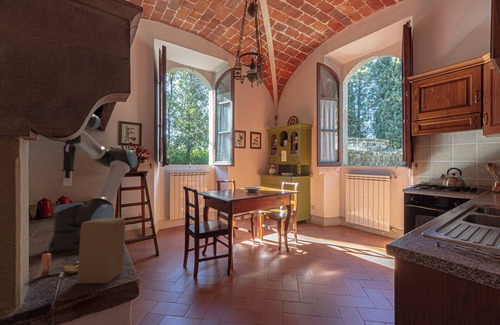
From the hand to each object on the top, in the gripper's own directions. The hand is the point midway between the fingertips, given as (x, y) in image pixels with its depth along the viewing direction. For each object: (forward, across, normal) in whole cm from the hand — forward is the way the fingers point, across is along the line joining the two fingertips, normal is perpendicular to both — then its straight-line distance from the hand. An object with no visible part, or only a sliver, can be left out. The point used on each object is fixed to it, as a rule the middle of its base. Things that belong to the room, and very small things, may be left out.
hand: (67, 185), depth 102 cm
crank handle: (+31, +23, +5) cm, 39 cm away
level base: (+32, +23, +8) cm, 40 cm away
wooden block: (+32, +34, +16) cm, 50 cm away
